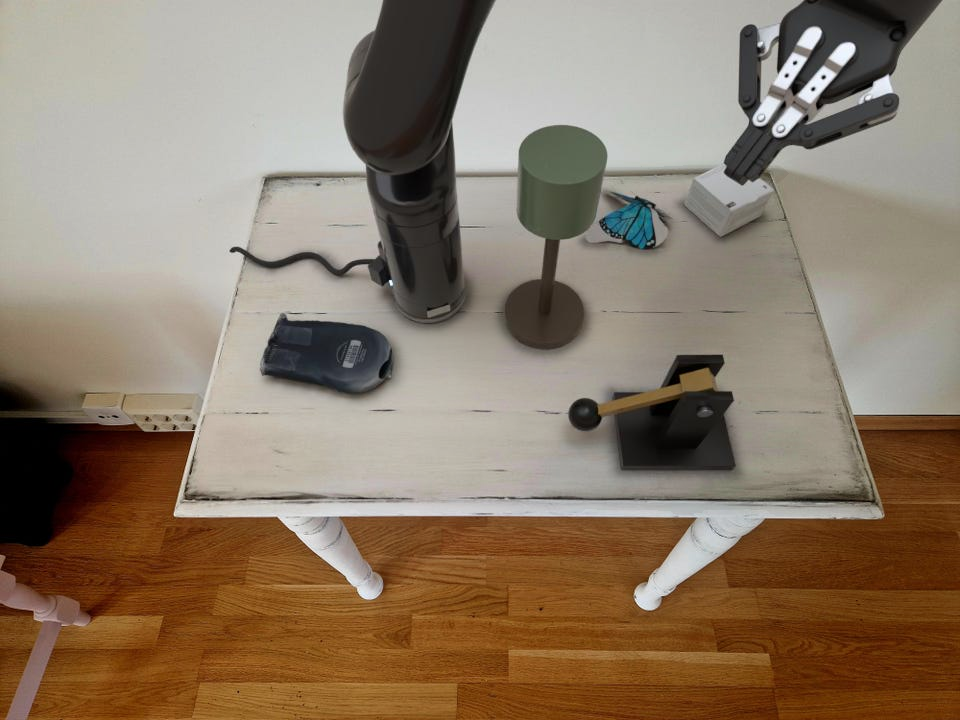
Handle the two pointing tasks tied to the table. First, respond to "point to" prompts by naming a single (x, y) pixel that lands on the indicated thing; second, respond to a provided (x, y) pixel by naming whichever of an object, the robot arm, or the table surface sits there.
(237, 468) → the table surface
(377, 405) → the table surface
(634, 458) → the switch bracket
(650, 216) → the decorative butterfly
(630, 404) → the lever with ball knob
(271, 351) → the electronic device
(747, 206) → the small box
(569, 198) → the desk lamp
